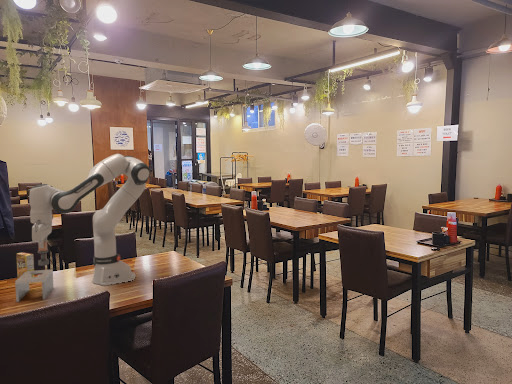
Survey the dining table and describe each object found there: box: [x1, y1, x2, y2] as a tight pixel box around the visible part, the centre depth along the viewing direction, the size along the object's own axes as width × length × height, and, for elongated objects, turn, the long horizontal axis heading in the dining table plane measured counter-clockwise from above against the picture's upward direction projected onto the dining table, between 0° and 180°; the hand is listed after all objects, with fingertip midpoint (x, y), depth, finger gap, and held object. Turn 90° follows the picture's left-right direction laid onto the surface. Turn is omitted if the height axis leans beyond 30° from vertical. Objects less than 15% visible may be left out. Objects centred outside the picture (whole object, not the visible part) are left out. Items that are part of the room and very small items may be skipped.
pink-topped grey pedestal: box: [37, 240, 50, 267], centre depth 169 cm, size 4×4×11 cm
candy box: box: [16, 251, 35, 279], centre depth 193 cm, size 9×4×15 cm, turn 66°
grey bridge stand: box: [14, 269, 54, 303], centre depth 174 cm, size 12×15×10 cm
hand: (43, 246), depth 169 cm, fingers closed on pink-topped grey pedestal, 3 cm apart
